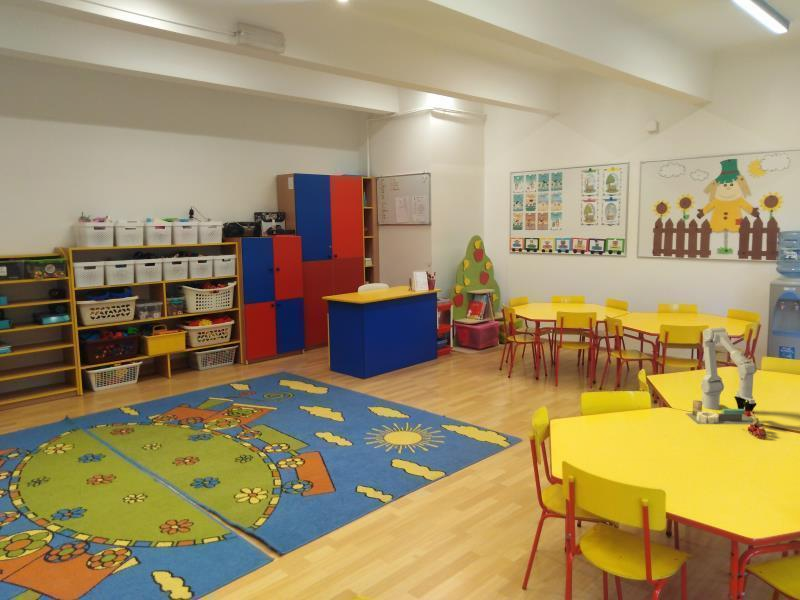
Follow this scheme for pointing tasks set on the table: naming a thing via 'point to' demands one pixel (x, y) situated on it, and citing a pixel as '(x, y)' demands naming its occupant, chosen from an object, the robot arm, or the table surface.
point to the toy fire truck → (755, 430)
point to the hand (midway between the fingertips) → (744, 413)
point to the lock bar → (733, 411)
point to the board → (744, 420)
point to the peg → (697, 407)
